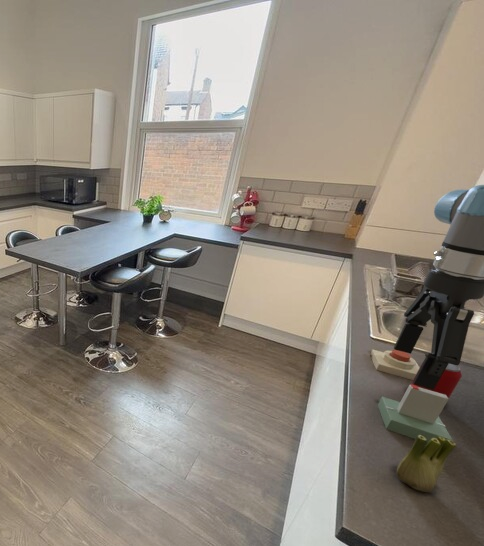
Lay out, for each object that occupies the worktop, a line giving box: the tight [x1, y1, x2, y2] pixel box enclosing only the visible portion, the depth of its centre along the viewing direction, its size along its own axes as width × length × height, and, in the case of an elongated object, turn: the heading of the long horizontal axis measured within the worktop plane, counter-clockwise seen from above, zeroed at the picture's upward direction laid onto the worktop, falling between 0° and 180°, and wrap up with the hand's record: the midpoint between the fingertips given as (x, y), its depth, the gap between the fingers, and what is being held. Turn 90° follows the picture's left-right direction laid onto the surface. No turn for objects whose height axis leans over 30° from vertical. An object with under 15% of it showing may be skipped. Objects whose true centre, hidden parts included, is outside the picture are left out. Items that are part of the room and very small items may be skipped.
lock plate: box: [377, 396, 454, 444], centre depth 74 cm, size 10×9×3 cm
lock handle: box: [397, 383, 450, 424], centre depth 72 cm, size 6×2×8 cm, turn 57°
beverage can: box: [410, 364, 463, 400], centre depth 80 cm, size 7×7×12 cm
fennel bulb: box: [396, 435, 458, 493], centre depth 59 cm, size 6×5×12 cm
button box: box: [369, 349, 420, 381], centre depth 94 cm, size 10×9×4 cm
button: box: [390, 349, 412, 362], centre depth 93 cm, size 4×4×2 cm
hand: (411, 367), depth 65 cm, fingers open, 13 cm apart
